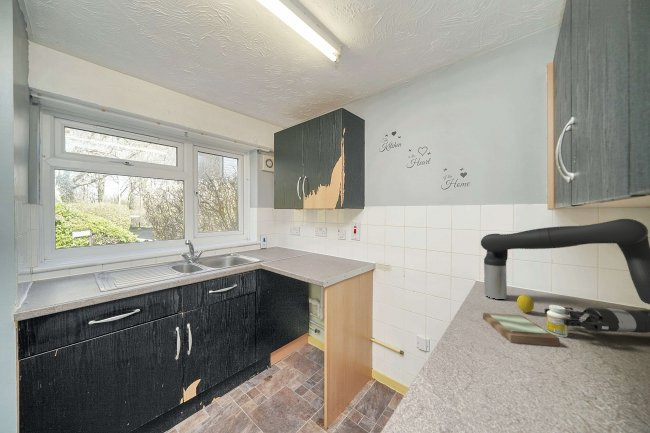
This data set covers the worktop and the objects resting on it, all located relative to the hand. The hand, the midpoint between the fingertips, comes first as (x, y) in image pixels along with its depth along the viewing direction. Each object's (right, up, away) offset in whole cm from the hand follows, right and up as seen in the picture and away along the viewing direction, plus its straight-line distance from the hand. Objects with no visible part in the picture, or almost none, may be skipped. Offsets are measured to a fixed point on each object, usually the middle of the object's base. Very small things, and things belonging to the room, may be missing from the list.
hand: (554, 316), depth 81 cm
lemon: (+5, -6, +17) cm, 19 cm away
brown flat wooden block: (-12, -6, +2) cm, 14 cm away
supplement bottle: (+1, -6, 0) cm, 6 cm away
